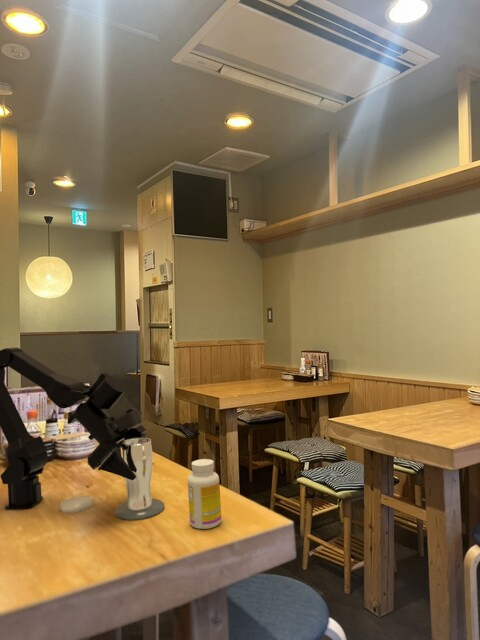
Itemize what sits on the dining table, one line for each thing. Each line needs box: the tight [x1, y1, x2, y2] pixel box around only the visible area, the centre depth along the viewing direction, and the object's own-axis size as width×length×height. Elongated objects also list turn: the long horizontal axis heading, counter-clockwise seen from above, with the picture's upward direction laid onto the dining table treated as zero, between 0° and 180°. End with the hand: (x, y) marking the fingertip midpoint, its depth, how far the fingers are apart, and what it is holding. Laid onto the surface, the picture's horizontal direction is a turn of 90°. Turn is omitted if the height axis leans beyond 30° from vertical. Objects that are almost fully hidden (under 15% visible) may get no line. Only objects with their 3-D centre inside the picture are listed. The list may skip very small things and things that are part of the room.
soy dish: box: [59, 496, 93, 514], centre depth 112 cm, size 7×7×1 cm
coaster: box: [114, 498, 165, 521], centre depth 108 cm, size 11×11×1 cm
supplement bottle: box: [187, 458, 222, 530], centre depth 99 cm, size 7×7×13 cm
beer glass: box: [121, 437, 154, 512], centre depth 109 cm, size 7×7×15 cm
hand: (143, 471), depth 108 cm, fingers open, 9 cm apart
